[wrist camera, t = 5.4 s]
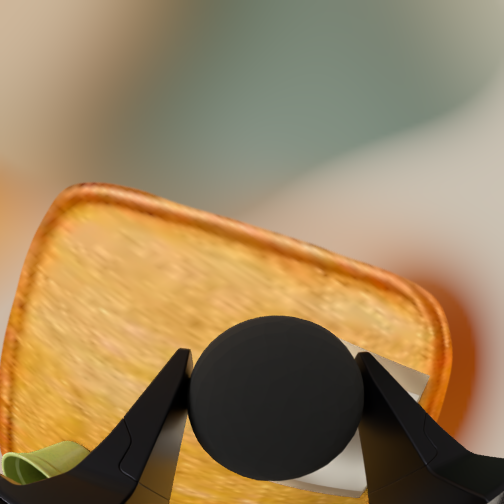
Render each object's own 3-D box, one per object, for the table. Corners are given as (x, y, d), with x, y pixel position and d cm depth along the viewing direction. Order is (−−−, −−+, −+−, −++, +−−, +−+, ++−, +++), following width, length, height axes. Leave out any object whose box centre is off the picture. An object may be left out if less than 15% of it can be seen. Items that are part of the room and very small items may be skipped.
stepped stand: (352, 488, 19) (366, 507, 15) (225, 455, 19) (223, 478, 15) (418, 373, 22) (442, 379, 18) (298, 321, 22) (310, 322, 19)
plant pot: (119, 508, 17) (91, 550, 8) (50, 472, 17) (11, 500, 8) (120, 450, 19) (80, 492, 10) (45, 412, 19) (-6, 433, 10)
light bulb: (290, 303, 16) (364, 278, 6) (320, 391, 15) (411, 459, 5) (195, 335, 15) (132, 356, 6) (228, 423, 14) (220, 532, 4)
